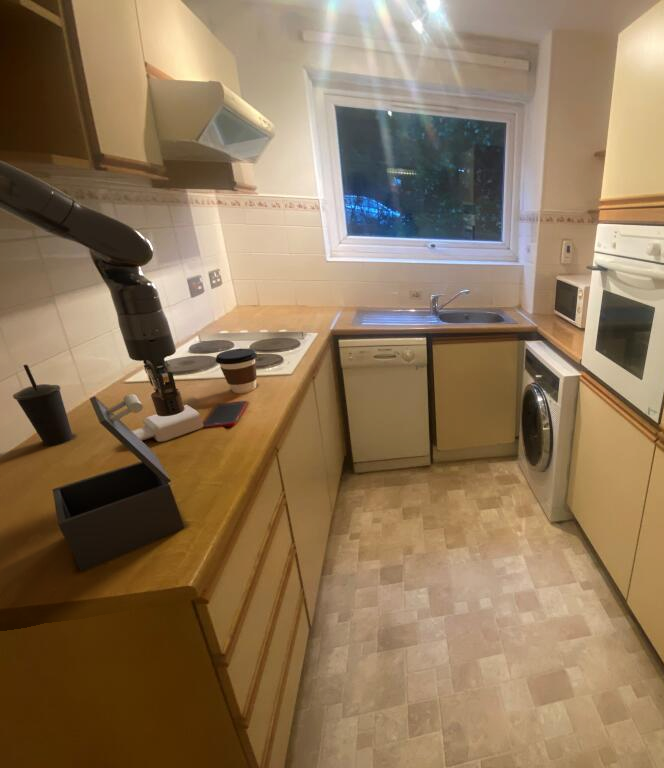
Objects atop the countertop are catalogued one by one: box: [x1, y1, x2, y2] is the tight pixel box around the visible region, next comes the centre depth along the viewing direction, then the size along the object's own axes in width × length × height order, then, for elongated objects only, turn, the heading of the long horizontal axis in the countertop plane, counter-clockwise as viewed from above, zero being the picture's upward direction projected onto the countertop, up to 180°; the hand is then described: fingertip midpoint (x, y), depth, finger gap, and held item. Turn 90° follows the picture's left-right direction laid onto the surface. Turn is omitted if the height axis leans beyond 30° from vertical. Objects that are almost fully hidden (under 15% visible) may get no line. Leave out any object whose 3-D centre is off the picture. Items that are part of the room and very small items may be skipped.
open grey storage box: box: [52, 460, 185, 572], centre depth 75 cm, size 14×13×10 cm
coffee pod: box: [150, 388, 185, 416], centre depth 92 cm, size 5×5×4 cm
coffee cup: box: [215, 348, 258, 394], centre depth 134 cm, size 11×11×12 cm
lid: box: [89, 393, 172, 484], centre depth 74 cm, size 14×13×5 cm
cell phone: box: [202, 400, 248, 429], centre depth 118 cm, size 8×15×1 cm, turn 18°
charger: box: [131, 404, 204, 443], centre depth 107 cm, size 5×9×15 cm
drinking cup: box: [12, 364, 74, 447], centre depth 101 cm, size 8×8×20 cm
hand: (170, 410), depth 93 cm, fingers closed on coffee pod, 4 cm apart
